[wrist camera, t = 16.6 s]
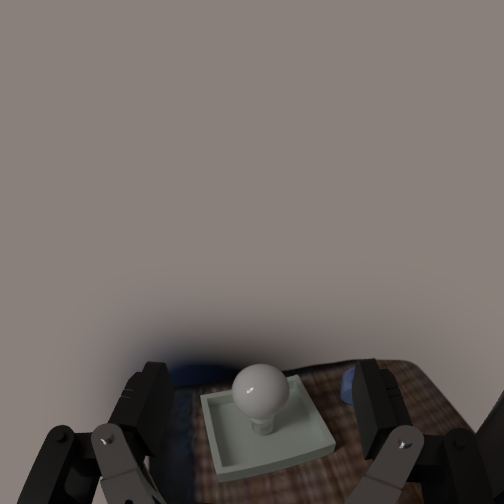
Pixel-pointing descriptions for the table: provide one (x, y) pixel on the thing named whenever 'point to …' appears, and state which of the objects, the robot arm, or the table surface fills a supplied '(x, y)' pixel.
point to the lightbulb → (260, 395)
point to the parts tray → (264, 446)
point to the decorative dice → (347, 386)
